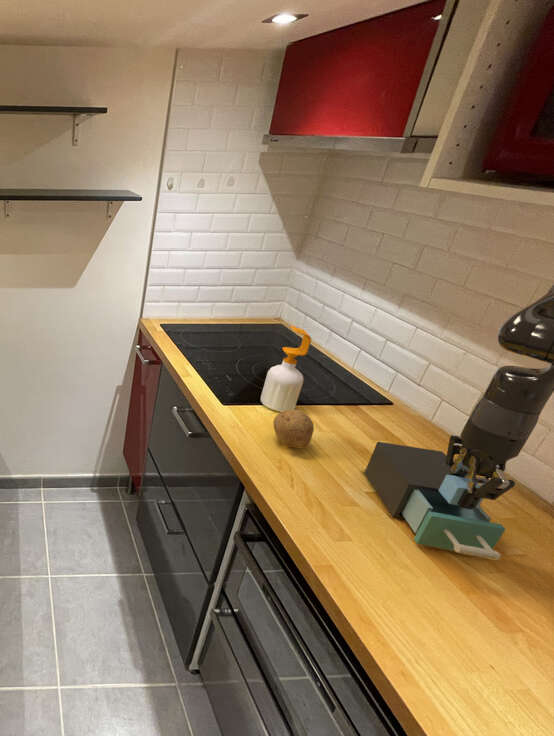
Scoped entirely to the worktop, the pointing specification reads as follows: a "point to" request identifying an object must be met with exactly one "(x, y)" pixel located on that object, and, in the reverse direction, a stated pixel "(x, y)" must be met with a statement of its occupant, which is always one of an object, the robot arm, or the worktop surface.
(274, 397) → the soap bottle
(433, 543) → the teal drawer
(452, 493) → the pale blue rectangular block
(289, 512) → the worktop surface
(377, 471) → the dark grey drawer cabinet
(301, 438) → the brown potato
